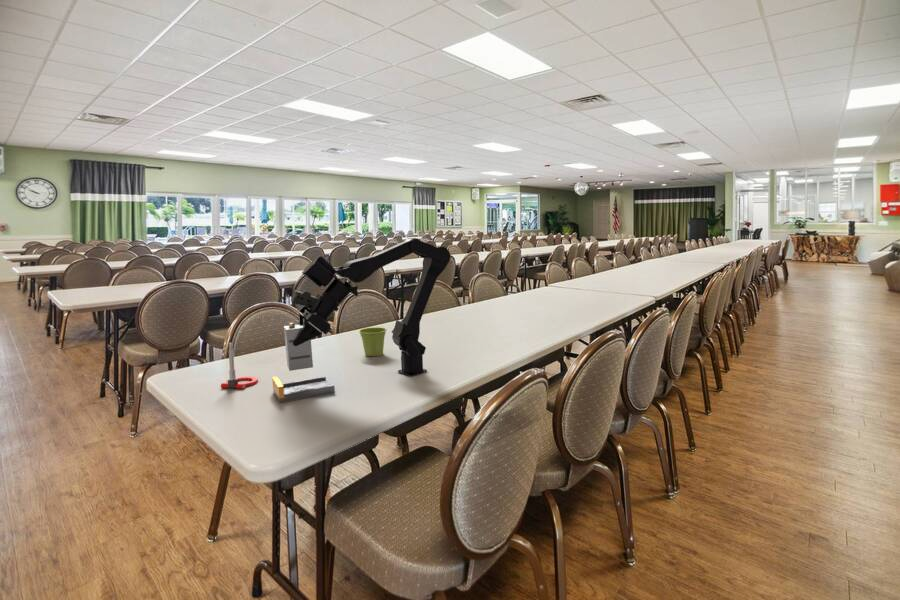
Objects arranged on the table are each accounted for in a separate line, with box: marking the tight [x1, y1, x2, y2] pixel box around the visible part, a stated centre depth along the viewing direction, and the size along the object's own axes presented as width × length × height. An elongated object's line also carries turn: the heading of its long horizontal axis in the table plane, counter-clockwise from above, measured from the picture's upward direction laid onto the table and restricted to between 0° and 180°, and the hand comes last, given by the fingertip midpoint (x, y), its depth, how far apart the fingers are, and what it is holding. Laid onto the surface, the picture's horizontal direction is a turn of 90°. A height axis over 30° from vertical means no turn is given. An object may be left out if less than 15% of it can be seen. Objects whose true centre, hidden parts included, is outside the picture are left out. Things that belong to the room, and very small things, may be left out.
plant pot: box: [358, 326, 388, 357], centre depth 161 cm, size 9×9×9 cm
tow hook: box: [220, 342, 259, 390], centre depth 133 cm, size 8×13×9 cm
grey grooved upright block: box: [283, 322, 314, 372], centre depth 125 cm, size 6×6×12 cm
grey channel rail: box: [271, 375, 336, 404], centre depth 125 cm, size 14×9×4 cm
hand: (292, 343), depth 125 cm, fingers closed on grey grooved upright block, 5 cm apart
